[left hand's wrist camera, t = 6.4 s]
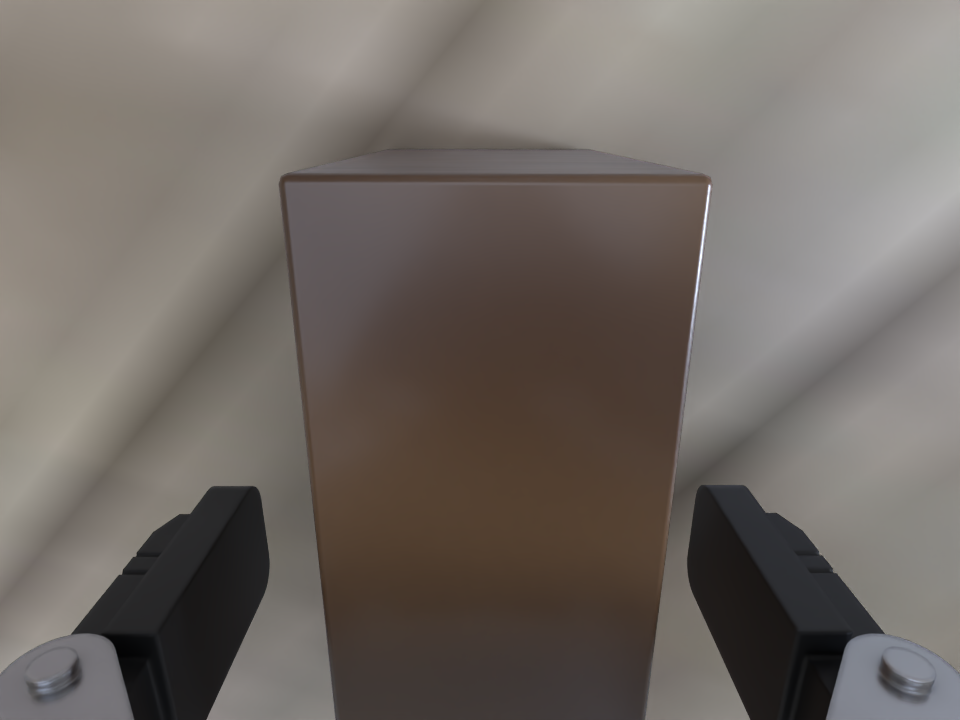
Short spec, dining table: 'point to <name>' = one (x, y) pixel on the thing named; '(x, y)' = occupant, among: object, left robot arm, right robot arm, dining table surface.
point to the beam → (493, 421)
